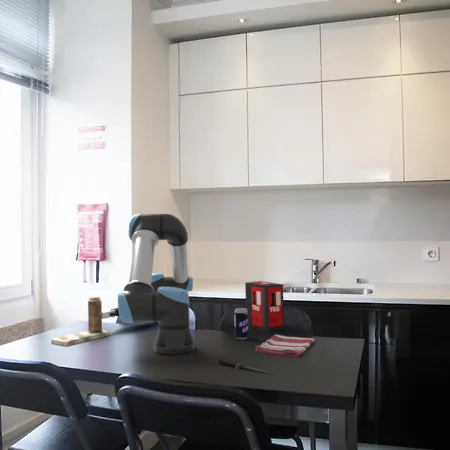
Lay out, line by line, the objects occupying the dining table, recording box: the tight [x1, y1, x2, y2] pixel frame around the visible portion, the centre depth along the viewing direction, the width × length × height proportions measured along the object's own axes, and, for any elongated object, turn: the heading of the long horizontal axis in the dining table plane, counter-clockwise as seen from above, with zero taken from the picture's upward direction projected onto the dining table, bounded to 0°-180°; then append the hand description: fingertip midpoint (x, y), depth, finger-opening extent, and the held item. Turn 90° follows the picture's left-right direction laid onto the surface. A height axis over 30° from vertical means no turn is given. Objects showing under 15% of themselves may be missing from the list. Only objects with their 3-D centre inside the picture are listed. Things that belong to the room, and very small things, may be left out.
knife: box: [217, 358, 276, 376], centre depth 147 cm, size 25×2×5 cm
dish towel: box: [254, 334, 316, 358], centre depth 174 cm, size 17×23×3 cm
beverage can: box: [233, 307, 249, 340], centre depth 189 cm, size 6×6×12 cm
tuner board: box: [50, 329, 111, 347], centre depth 193 cm, size 22×10×2 cm, turn 143°
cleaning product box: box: [244, 280, 285, 333], centre depth 209 cm, size 16×9×20 cm, turn 33°
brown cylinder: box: [87, 296, 103, 333], centre depth 198 cm, size 5×7×15 cm, turn 53°
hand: (102, 315), depth 203 cm, fingers closed
